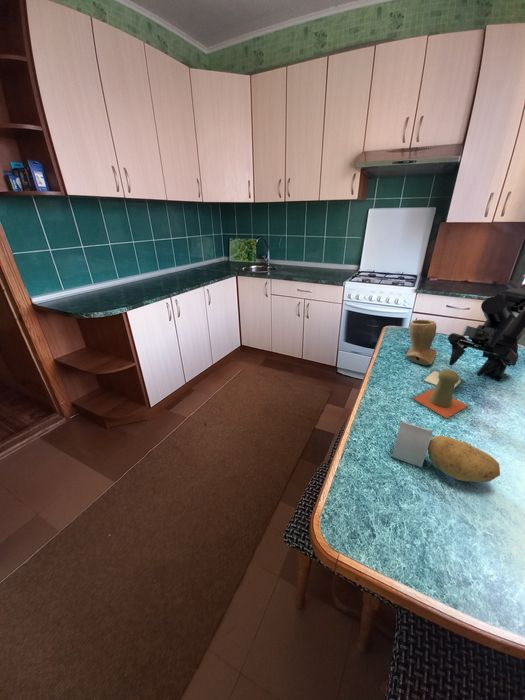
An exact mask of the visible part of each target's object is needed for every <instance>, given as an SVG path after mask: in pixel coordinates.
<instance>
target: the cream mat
mask: <svg viewBox="0 0 525 700" xmlns="http://www.w3.org/2000/svg"><path fill="white" fill-rule="evenodd" d="M439 373H440V371H436V370H434V371H432V372H431V373H430V374H429V375H427V376H426V377H425V378H424V379H423V382H425V383H427V384H430V385H433V386H436V385H437V383H438V381H439V378H438V376H439ZM461 382H462V380H460V379H459V380H458V382H457V383H456V384H455V385H454V390H455V388H457V387H458V385H460V383H461Z"/></svg>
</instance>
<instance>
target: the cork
mask: <svg viewBox="0 0 525 700" xmlns="http://www.w3.org/2000/svg"><path fill="white" fill-rule="evenodd" d="M438 378H439V381H438V383H437V385H435V387H434V391H433V393H432V395H431V397H430V402H431V403H432V404H434V405H436V406H438V407H441V408H449V407H451V404H452V398H454V392H455V389H454V385H455V384H456V383H457V382H458V380H460V376H459V373H458V372H456V371H454V370H452V369H442V370H441V371H439V376H438Z"/></svg>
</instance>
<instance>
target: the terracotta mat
mask: <svg viewBox="0 0 525 700" xmlns="http://www.w3.org/2000/svg"><path fill="white" fill-rule="evenodd" d="M434 389H435V387H433V388H431V389H429V390H427V391H425V392H423V393H422V394H419V395H417V396H415V397H413V398H412V400H413V401H415V402H416V403H418V404H420V405H422V406H423V407H425V408H427V409H428V410H430V411H431V412H433V413H435V414H437V415H439V416H440V417H442V418H443V419H446V420H447V419H449V418H451V417H453V416H454V415H456V414H457V413H459V412H461V411H463V410H465V409H467V408H468V405H467V404H466V403H463V402H461V401H460V400H458V399H455V398H454V397H453V398H452V404H451V407H449V408H441V407H438V406H436V405H434V404H432V403H431V402H430V397H431V395H432V393H433V391H434Z"/></svg>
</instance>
